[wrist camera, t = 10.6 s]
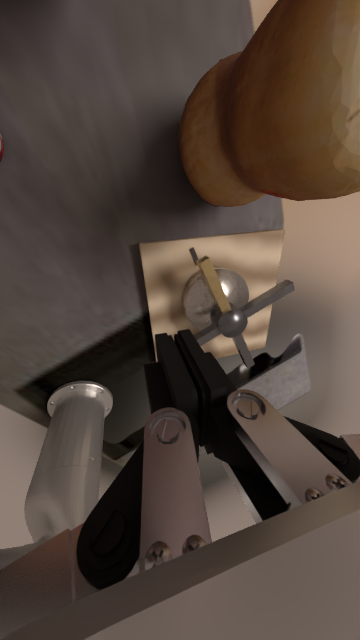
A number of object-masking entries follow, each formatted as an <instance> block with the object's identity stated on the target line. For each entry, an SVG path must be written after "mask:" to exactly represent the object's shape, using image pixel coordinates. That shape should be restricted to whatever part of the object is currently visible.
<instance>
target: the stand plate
mask: <svg viewBox="0 0 360 640" xmlns="http://www.w3.org/2000/svg"><path fill="white" fill-rule="evenodd" d="M284 234H285V230H283V229H275V230H265V231H255V232H245V233H235V234H224V235H214V236H204V237H194V238H184V239H173V240H163V241H153V242H143V243H139V248H140V254H141V261H142V268H143V275H144V282H145V288H146V295H147V302H148V309H149V316H150V322H151V329H152V336H153V343H154V350H155V356H156V362H157V353H156V343H155V334H161V333H167V335H172V337H173V340H174V334H177V332H178V331H179V330H186V329H190V331H191V332H192V334H193V335H195V334H196V333H198V332H200V330H198V329H196V328H195V327H194V326H193V325H192V324H191V323H190V321H189V320H188V318H187V317H186V315H185V314H184V311H183V309H182V304H181V298H182V292H183V289H184V287H185V285H186V283H187V282H188V280H189V279H190V278H191V277H192V276H193V275H194V274H195V273H196V272H198V271H199V270H200V269H199V266H198V264H197V262H196V261H197V260H199V259H201V258H202V257H204V256H207V257H209V258H210V259H211V262H212V264H213V266H223V267H226V268H228V269H230V270H232V271H234V272H236V273H237V274H239V275H240V276H241V277H242V278H243V279H244V280H245V282H246V284H247V286H248V290H249V300H248V302H250V301H251V300H253V299H255V298H256V297H258V296H260V295H261V294H263V293H265V292H266V291H268V290H270V289H271V288H273V287H275V286H276V280H277V274H278V268H279V262H280V257H281V251H282V245H283V239H284ZM271 309H272V304H270V305H269V306H267V307H265V308H264V309H262V310H260V311H259V312H257V313H255V314H254V315H252V316H250V317H249V318H248V324H247V327H246V329H245V330H244V331H243V332H242V335H243V338H244V340H245V342H246V345H247V347H248V350H249V351H250V350H255V349H259V348H263V347H265V343H266V337H267V332H268V326H269V319H270V314H271ZM201 348H202V349H203V351H204V353H206V352H211V353H212V355H213V356H214V357H215V358H219V357H224V356H228V355H233V354H237V353H239V352H238V350H237V348H236V346H235V344H234V342H233V339H232V338H227V337H225V336H223V335H222V334H220V335H218V336H217V337H215V338H213V339H212V340H210V341H208V342H207V343H205V344H203V345H202V346H201Z"/></svg>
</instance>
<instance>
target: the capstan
mask: <svg viewBox="0 0 360 640" xmlns="http://www.w3.org/2000/svg"><path fill="white" fill-rule="evenodd" d="M196 262H197V264H198V266H199V269H200V270H199V271H198V272H196V273H195V274H194V275H193V276H192V277H191V278H190V279H189V280H188V282H187V283H186V285H185V287H184V289H183V292H182V298H181V304H182V309H183V311H184V314H185V315H186V317H187V318H188V320H189V321H190V323H191V324H192V325H193V326H194V327H195V328H196V329H198V330H200V332H198V333H196V334H195V335H194V337H195V339H196V340H197V342H198V343H199V345H200V346H202V345H203V344H205V343H207V342H208V341H210V340H212V339H213V338H215V337H217V336H218V335H220V334H222V335H223V336H225V337H227V338H232V339H233V342H234V344H235V346H236V348H237V350H238V352H239V354H240V357H241V359H242V361H243V363H244V364H245V366H246V367H247V368H249V367H251V366H253V365H254V361H253V359H252V357H251V354H250V352H249V350H248V347H247V345H246V342H245V340H244V338H243V335H242V332H243V331H244V330H245V329H246V327H247V324H248V318H249V317H250V316H252V315H254V314H255V313H257V312H259V311H260V310H262V309H264V308H265V307H267V306H269V305H270V304H272V303H273V302H275V301H277V300H279V299H280V298H282V297H284V296H285V295H287V294H288V293H290V292H292V291H294V285H293V282H291V281H289V280H284V281H283V282H281V283H280V284H278V285H276V286H275V287H273V288H271V289H270V290H268V291H266V292H265V293H263V294H261V295H260V296H258V297H256V298H255V299H253V300H251V301H250V302H248V300H249V290H248V286H247V284H246V282H245V280H244V279H243V278H242V277H241V276H240V275H239V274H237V273H236V272H234V271H232V270H230V269H228V268H226V267H223V266H213V264H212V262H211V259H210V258H209V257H207V256H204V257H202V258H201V259H199V260H197V261H196Z"/></svg>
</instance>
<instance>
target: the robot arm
mask: <svg viewBox="0 0 360 640" xmlns="http://www.w3.org/2000/svg"><path fill="white" fill-rule="evenodd" d="M155 343H156V353H157V362H154V363H149V364H144V372H145V379H146V386H147V392H148V398H149V404H150V410H151V416H150V417H149V419H148V420H147V422H146V425H145V430H144V440H143V442H142V443H141V444H140V446H139V447H138V449H137V450H136V451H135V453H134V454H133V455H132V457H131V458H130V459H129V461H128V462H127V464H126V465H125V466H124V468H123V469H122V470H121V472H120V473H119V474H118V476H117V477H116V479H115V480H114V481H113V483H112V484H111V486H110V487H109V488H108V490H107V491H106V492H105V493H104V495H103V496H102V498H101V499H100V500H99V485H100V471H101V457H102V443H103V429H104V428H103V427H104V418H105V417H106V416H107V415H108V414H109V412H110V411H111V408H112V404H113V398H112V394H111V393H110V391H109V390H108V389H107V388H106V387H104V386H103V385H101V384H99V383H96V382H92V381H75V382H70V383H67V384H65V385H63V386H61V387H59V388H58V389H56V390H55V391H54V392H53V393H52V394H51V396H50V398H49V400H48V403H47V410H48V413H49V415H50V416H51V417H52V419H51V422H50V425H49V428H48V431H47V434H46V438H45V440H44V444H43V446H42V450H41V453H40V456H39V459H38V462H37V465H36V468H35V471H34V475H33V477H32V480H31V484H30V486H29V489H28V493H27V496H26V501H25V509H24V510H25V519H26V524H27V526H28V529H29V532H30V534H31V536H32V539H33V541H34V543H33V544H28V545H24V546H20V547H13V548H7V549H0V640H360V434H351V435H341V436H340V438H337V437H336V436H333V435H331V434H329V433H326V432H324V431H321V430H318V429H316V428H313V427H311V426H308V425H306V424H303V423H300V422H298V421H295V420H292V419H290V418H287V417H285V416H282V415H281V414H280V413H279V412H278V411H277V410H276V409H275V408H274V407H273V406H272V405H271V404H270V403H269V402H268V401H267V400H266V399H265V398H264V397H262V396H261V395H260V394H258V393H256V392H254V391H250V390H237V389H236V388H235V386H234V385H233V383H232V382H231V380H230V379H229V378H228V376H227V375H226V373H225V372H224V370H223V369H222V367H221V366H220V365H219V363H218V362H217V360H216V359H215V357H214V356H213V355H212V353H211V352H206V353H204V351H203V349H202V348H201V346H200V345H199V343H198V342H197V340H196V339H195V337H194V335H193V334H192V332H191V331H190V329H186V330H179V331H178V332H177V334H174V340H173V337H172V335H167V333H161V334H155ZM199 445H200V447H202V446H205V449H206V452H207V454H210V453H213V454H214V456H215V457H217V458H218V459H220V460H222V464H223V466H224V468H225V470H226V472H227V473H228V475H229V477H230V479H231V480H232V482H233V484H234V486H235V487H236V489H237V491H238V492H239V494H240V496H241V498H242V499H243V501H244V503H245V504H246V506H247V508H248V510H249V511H250V513H251V515H252V516H253V518H254V520H255V522H256V523H257V524H255V525H253V526H250V527H248V528H245V529H243V530H241V531H238V532H236V533H234V534H231V535H229V536H226V537H224V538H222V539H219V540H217V541H215V542H212V540H211V534H210V529H209V523H208V517H207V512H206V506H205V501H204V496H203V490H202V485H201V480H200V474H199V469H198V458H199ZM98 500H99V501H98Z"/></svg>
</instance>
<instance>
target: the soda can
mask: <svg viewBox="0 0 360 640" xmlns="http://www.w3.org/2000/svg"><path fill="white" fill-rule="evenodd" d="M3 151H4V148H3V140H2V137H1V134H0V161H1V159H2V156H3Z"/></svg>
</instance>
